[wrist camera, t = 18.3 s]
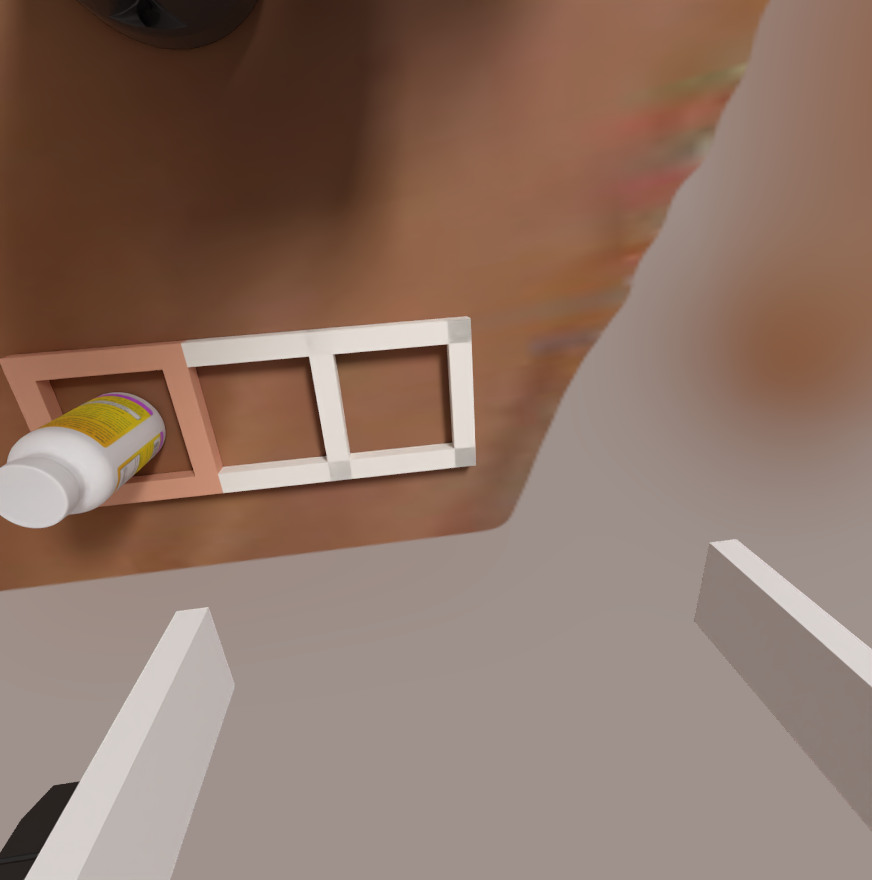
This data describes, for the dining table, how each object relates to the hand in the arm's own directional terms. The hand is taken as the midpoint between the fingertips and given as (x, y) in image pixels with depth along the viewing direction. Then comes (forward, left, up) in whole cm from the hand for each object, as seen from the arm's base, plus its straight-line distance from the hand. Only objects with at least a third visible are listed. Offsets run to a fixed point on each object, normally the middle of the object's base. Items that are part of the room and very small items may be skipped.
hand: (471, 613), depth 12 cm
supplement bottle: (+22, -13, -32) cm, 41 cm away
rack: (+13, -5, -32) cm, 35 cm away
